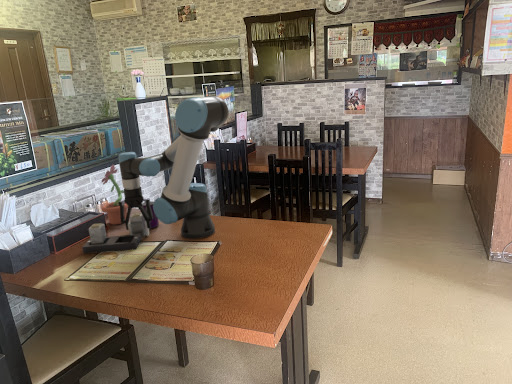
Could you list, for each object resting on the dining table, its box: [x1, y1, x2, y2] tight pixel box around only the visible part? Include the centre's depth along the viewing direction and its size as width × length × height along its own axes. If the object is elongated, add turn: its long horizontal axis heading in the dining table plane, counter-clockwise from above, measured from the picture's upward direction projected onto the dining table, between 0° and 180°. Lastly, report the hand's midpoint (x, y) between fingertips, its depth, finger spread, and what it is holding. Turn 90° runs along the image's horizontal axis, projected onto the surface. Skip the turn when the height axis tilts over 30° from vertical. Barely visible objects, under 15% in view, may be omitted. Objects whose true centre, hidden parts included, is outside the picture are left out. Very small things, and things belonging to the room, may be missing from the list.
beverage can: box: [142, 200, 160, 230], centre depth 189 cm, size 7×7×12 cm
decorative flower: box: [101, 164, 128, 225], centre depth 198 cm, size 15×14×30 cm
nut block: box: [129, 212, 147, 239], centre depth 178 cm, size 5×5×11 cm
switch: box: [81, 222, 143, 255], centre depth 168 cm, size 22×10×11 cm, turn 93°
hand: (139, 235), depth 180 cm, fingers open, 7 cm apart
